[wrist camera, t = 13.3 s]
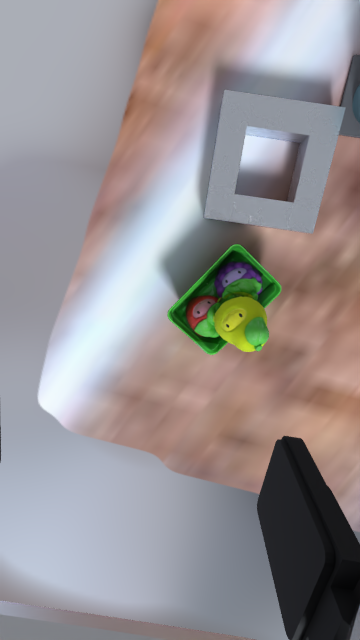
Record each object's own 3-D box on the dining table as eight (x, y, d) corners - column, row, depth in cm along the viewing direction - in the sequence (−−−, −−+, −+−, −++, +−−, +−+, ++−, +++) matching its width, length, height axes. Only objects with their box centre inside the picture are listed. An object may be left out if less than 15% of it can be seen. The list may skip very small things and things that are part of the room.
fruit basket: (230, 237, 37) (245, 243, 27) (280, 287, 39) (313, 311, 28) (167, 304, 40) (157, 333, 29) (216, 348, 42) (223, 391, 31)
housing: (332, 117, 33) (345, 107, 30) (303, 232, 37) (312, 233, 34) (221, 101, 33) (224, 89, 30) (203, 218, 37) (204, 217, 34)
